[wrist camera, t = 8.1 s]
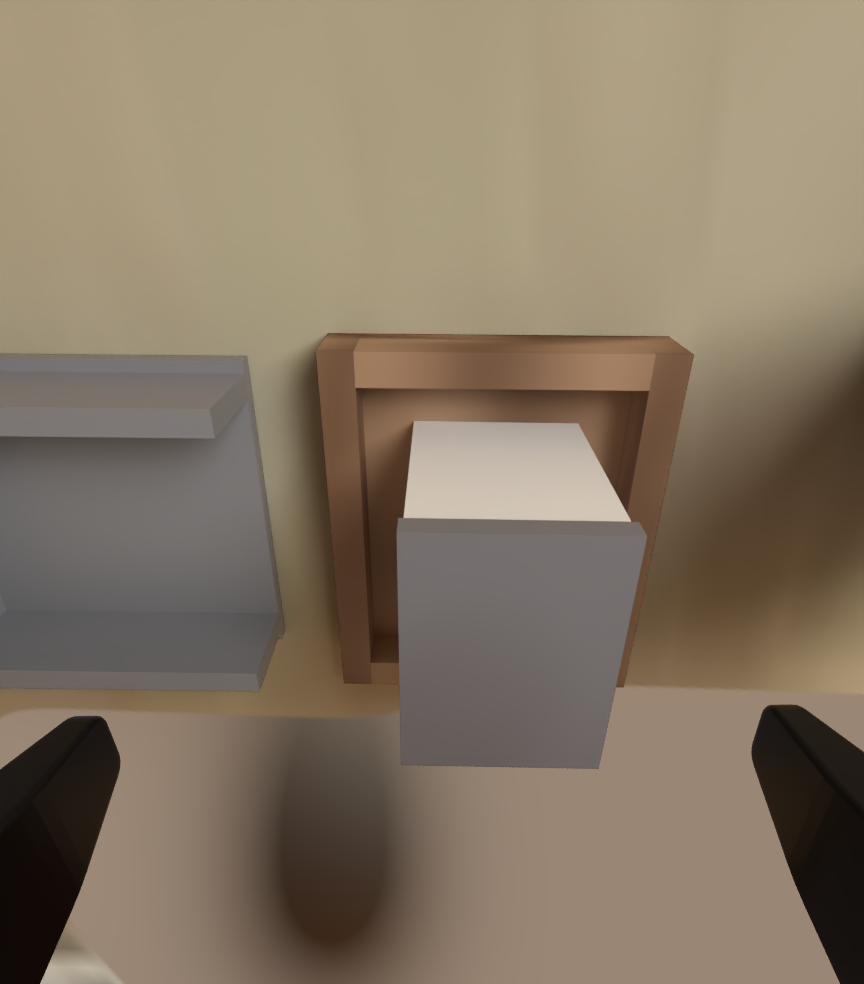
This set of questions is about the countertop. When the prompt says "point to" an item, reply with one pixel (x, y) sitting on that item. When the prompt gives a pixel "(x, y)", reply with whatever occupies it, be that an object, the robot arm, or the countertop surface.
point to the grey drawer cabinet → (133, 525)
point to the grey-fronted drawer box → (510, 596)
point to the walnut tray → (477, 398)
